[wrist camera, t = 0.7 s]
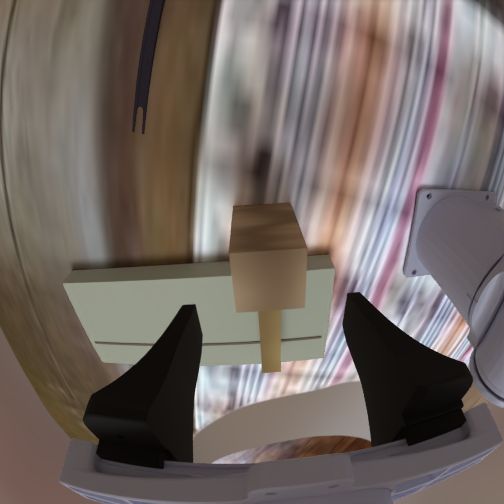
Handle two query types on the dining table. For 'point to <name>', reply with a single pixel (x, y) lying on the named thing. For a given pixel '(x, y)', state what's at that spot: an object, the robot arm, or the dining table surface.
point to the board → (208, 308)
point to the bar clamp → (147, 58)
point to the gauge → (267, 270)
